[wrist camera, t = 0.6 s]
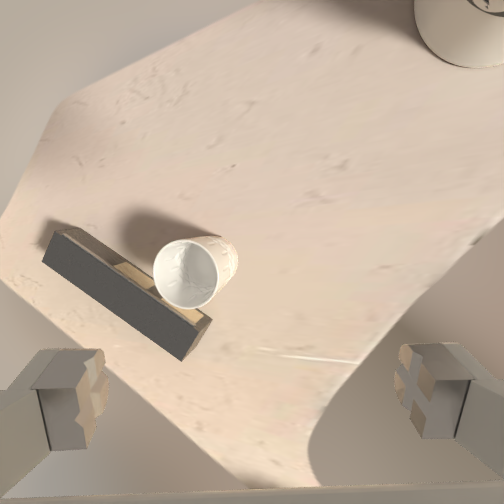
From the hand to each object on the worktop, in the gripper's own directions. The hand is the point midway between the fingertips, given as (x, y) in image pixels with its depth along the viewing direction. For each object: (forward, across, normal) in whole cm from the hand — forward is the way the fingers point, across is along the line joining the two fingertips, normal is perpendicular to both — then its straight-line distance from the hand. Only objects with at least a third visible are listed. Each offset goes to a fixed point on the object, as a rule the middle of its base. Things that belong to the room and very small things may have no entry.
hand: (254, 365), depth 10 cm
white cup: (+39, +3, +12) cm, 41 cm away
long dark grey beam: (+41, +14, +17) cm, 47 cm away
